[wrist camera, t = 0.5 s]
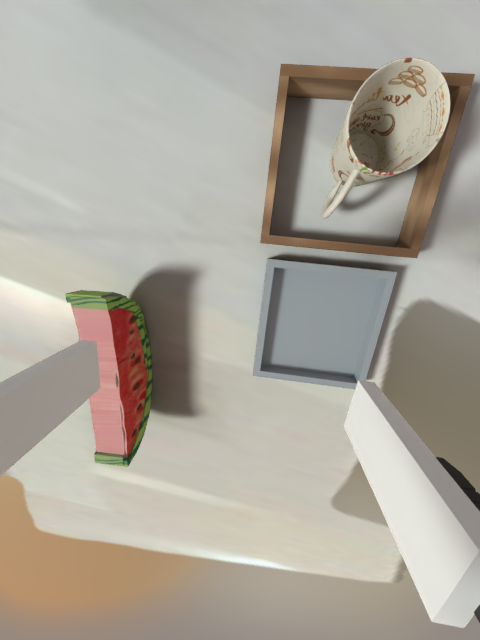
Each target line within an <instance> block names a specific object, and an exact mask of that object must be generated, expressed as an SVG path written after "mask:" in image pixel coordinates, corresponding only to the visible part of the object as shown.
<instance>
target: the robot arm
mask: <svg viewBox="0 0 480 640" xmlns="http://www.w3.org/2000/svg"><path fill="white" fill-rule="evenodd" d="M100 388H101V387H100V375H99V364H98V352H97V342H94V341H87V340H81V341H79V342H77V343H75V344H73V345H71V346H69V347H68V348H66V349H64V350H62V351H60V352H58V353H56V354H54V355H52V356H50V357H48V358H46V359H45V360H43V361H41V362H39V363H37V364H35V365H33V366H31V367H29V368H27V369H25V370H24V371H22V372H20V373H18V374H16V375H14V376H12V377H10V378H8V379H6V380H4V381H2V382H1V383H0V476H1V475H2V474H3V473H5V472H6V471H7V470H8V469H9V468H10V467H11V466H12V465H14V464H15V463H16V462H17V461H18V460H19V459H20V458H22V457H23V456H24V455H25V454H26V453H27V452H28V451H30V450H31V449H32V448H33V447H34V446H35V445H36V444H37V443H39V442H40V441H41V440H42V439H43V438H44V437H45V436H47V435H48V434H49V433H50V432H51V431H52V430H53V429H55V428H56V427H57V426H58V425H59V424H60V423H61V422H63V421H64V420H65V419H66V418H67V417H68V416H69V415H70V414H72V413H73V412H74V411H75V410H76V409H77V408H78V407H80V406H81V405H82V404H83V403H84V402H85V401H86V400H88V399H89V398H90V397H91V396H92V395H93V394H94V393H95V392H97V391H98V390H99V389H100ZM344 428H345V430H346V432H347V435H348V437H349V439H350V441H351V443H352V446H353V448H354V450H355V452H356V455H357V457H358V459H359V461H360V463H361V465H362V468H363V470H364V472H365V475H366V477H367V479H368V481H369V483H370V486H371V488H372V490H373V492H374V494H375V497H376V499H377V501H378V503H379V505H380V508H381V510H382V512H383V515H384V516H385V519H386V521H387V523H388V526H389V528H390V530H391V532H392V535H393V537H394V539H395V541H396V543H397V546H398V548H399V550H400V552H401V555H402V557H403V559H404V561H405V563H406V566H407V568H408V570H409V572H410V575H411V577H412V579H413V581H414V583H415V586H416V588H417V590H418V592H419V594H420V597H421V599H422V601H423V603H424V605H425V608H426V610H427V612H428V614H429V617H430V619H431V621H432V622H435V623H441V624H445V625H451V626H456V627H461V628H464V627H465V626H466V625H467V623H468V622H469V621H470V619H471V618H472V617H473V615H474V614H475V615H476V617H477V619H478V621H479V622H480V494H479V493H478V492H476V491H475V488H474V487H473V486H472V485H471V484H470V483H469V481H468V480H467V479H466V478H465V477H464V476H463V475H462V473H461V472H459V471H458V470H457V469H456V468H455V467H453V466H452V465H451V464H450V463H448V462H447V461H446V460H445V459H443V458H439V457H435V456H434V455H433V454H432V453H431V452H430V450H429V449H428V448H427V446H426V445H425V444H424V443H423V442H422V440H421V439H420V438H419V437H418V435H417V434H416V433H415V432H414V430H413V429H412V428H411V427H410V426H409V424H408V423H407V422H406V421H405V419H404V418H403V417H402V416H401V415H400V413H399V412H398V411H397V410H396V409H395V407H394V406H393V405H392V404H391V402H390V401H389V400H388V399H387V398H386V396H385V395H384V394H383V393H382V391H381V390H380V389H379V388H378V386H377V385H376V384H375V383H374V382H367V381H360V380H358V382H357V386H356V389H355V392H354V395H353V398H352V402H351V405H350V408H349V411H348V414H347V418H346V421H345V424H344Z"/></svg>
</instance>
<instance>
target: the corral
mask: <svg viewBox="0 0 480 640" xmlns="http://www.w3.org/2000/svg"><path fill="white" fill-rule="evenodd" d="M376 70H378V69H368V68H349V67H331V66H312V65H294V64H281V69H280V77H279V86H278V95H277V103H276V112H275V121H274V129H273V138H272V147H271V155H270V164H269V173H268V181H267V190H266V199H265V207H264V216H263V225H262V233H261V242H260V243H266V244H276V245H286V246H296V247H306V248H317V249H327V250H337V251H347V252H357V253H367V254H377V255H387V256H397V257H411V258H417V257H418V254H419V250H420V247H421V244H422V241H423V238H424V234H425V231H426V228H427V225H428V222H429V219H430V215H431V212H432V209H433V206H434V203H435V199H436V196H437V193H438V190H439V187H440V184H441V180H442V177H443V174H444V171H445V168H446V164H447V161H448V158H449V155H450V152H451V149H452V145H453V142H454V139H455V136H456V133H457V129H458V126H459V123H460V120H461V117H462V114H463V110H464V107H465V104H466V101H467V98H468V94H469V91H470V88H471V85H472V82H473V79H474V75H475V74H461V73H442V72H441V73H442V75H443V76H444V78H445V80H446V82H447V85H448V88H449V93H450V113H449V119H448V122H447V125H446V128H445V131H444V133H443V135H442V137H441V139H440V140H439V142H438V144H437V145H436V146H435V148H434V149H433V150H432V152H431V153H430V154H429V155H428V156H427V157H426V158H425V159H424V160H422V161H421V162H420V166H419V169H418V173H417V176H416V180H415V183H414V187H413V190H412V194H411V197H410V201H409V204H408V208H407V211H406V215H405V218H404V222H403V225H402V229H401V232H400V236H399V239H398V243H397V246H396V247H388V246H378V245H367V244H357V243H347V242H336V241H326V240H316V239H305V238H295V237H285V236H274V235H269V233H270V225H271V217H272V209H273V201H274V193H275V185H276V177H277V169H278V161H279V153H280V145H281V137H282V129H283V121H284V113H285V105H286V97H303V98H319V99H336V100H352V101H353V99H354V97H355V95H356V93H357V92H358V90H359V89H360V87H361V86H362V85H363V83H364V82H365V81H366V80H367V79H368V78H369V77H370V76H371V75H372V74H373V73H374V72H375V71H376Z"/></svg>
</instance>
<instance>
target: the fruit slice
mask: <svg viewBox="0 0 480 640" xmlns="http://www.w3.org/2000/svg"><path fill="white" fill-rule="evenodd" d="M65 295H66V300H67V302H70V303H71V306H72V310H73V314H74V317H75V321H76V325H77V328H78V332H79V341H81V340H87V341H94V342H97V352H98V364H99V375H100V387H101V388H100V389H99V390H98V391H97V392H95V393H94V394H93V395H92V396H91V397H90V405H91V412H92V419H93V428H94V433H95V439H96V452H95V454H94V456H95V462H96V463H101V464H109V465H117V466H126V467H128V466H129V464H130V463H131V461H132V459H133V458H134V456H135V454H136V453H137V450H138V448H139V446H140V443H141V441H142V438H143V436H144V432H145V429H146V425H147V421H148V417H149V413H150V407H151V391H152V361H151V350H150V344H149V339H148V333H147V330H146V327H145V321H144V315H143V312H142V310H141V308H140V307H139V305H138V303H137V302H136V301H134V300H132V299H128V298H127V297H126V296H123V295H121V294H117V293H114V292H99V291H83V290H81V291H76V292H71V293H66V294H65Z"/></svg>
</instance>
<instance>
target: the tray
mask: <svg viewBox="0 0 480 640" xmlns="http://www.w3.org/2000/svg"><path fill="white" fill-rule="evenodd" d="M396 276H397V272H393V271H387V270H377V269H368V268H358V267H348V266H338V265H329V264H319V263H309V262H299V261H290V260H280V259H270V258H267V266H266V274H265V282H264V290H263V298H262V306H261V314H260V322H259V329H258V337H257V345H256V353H255V361H254V370H253V376H259V377H266V378H274V379H282V380H289V381H297V382H304V383H312V384H319V385H327V386H334V387H342V388H350V389H356V386H357V382H358V380H360V381H366V377H367V374H368V371H369V367H370V364H371V360H372V357H373V354H374V350H375V347H376V343H377V340H378V337H379V333H380V330H381V327H382V323H383V320H384V316H385V313H386V310H387V306H388V303H389V299H390V296H391V293H392V289H393V286H394V282H395V279H396Z"/></svg>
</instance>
